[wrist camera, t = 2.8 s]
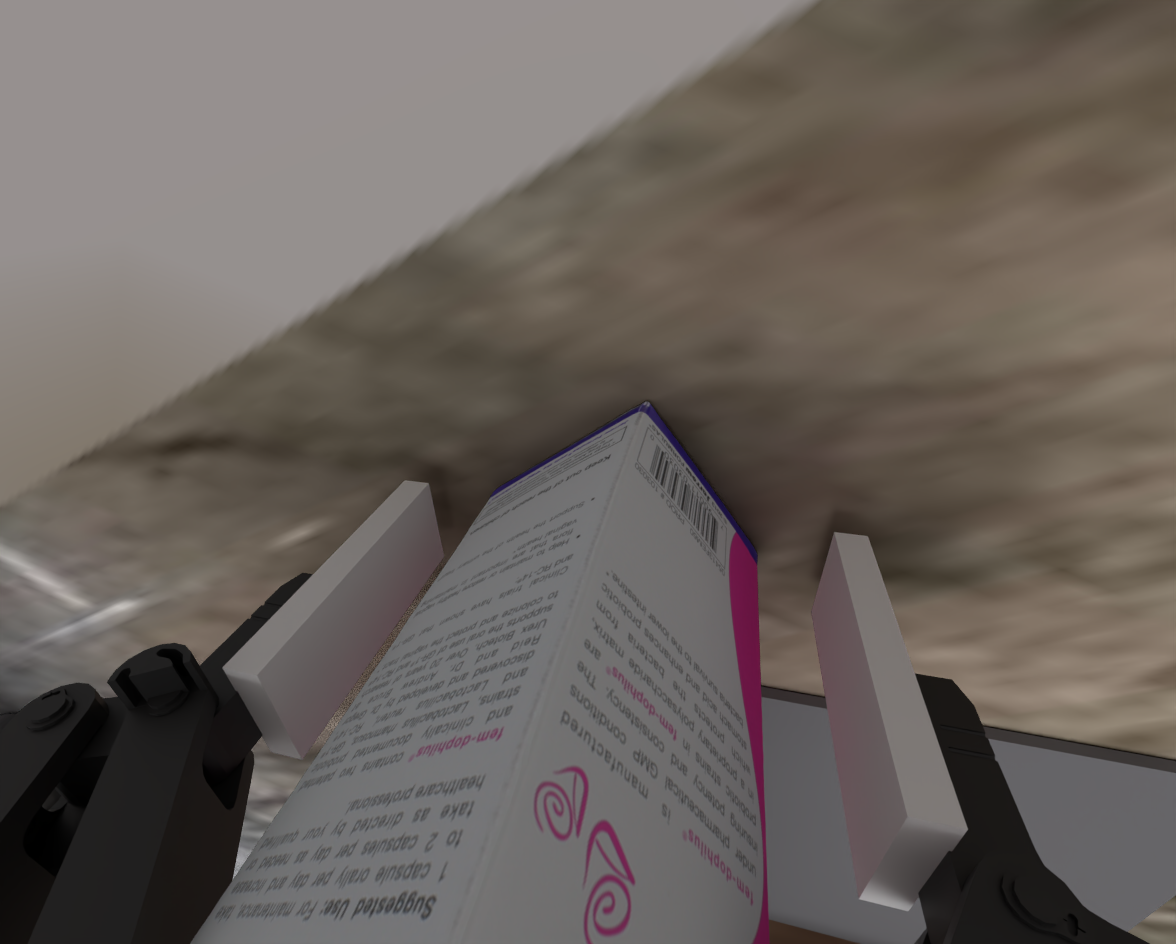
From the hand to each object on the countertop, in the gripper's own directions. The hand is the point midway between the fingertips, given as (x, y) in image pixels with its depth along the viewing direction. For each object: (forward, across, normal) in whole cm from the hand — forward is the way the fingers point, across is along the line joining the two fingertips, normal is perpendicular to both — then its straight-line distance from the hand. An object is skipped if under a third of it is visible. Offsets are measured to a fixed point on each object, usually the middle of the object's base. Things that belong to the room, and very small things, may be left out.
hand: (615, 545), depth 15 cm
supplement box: (+1, 0, 0) cm, 1 cm away
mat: (+1, +11, -14) cm, 18 cm away
